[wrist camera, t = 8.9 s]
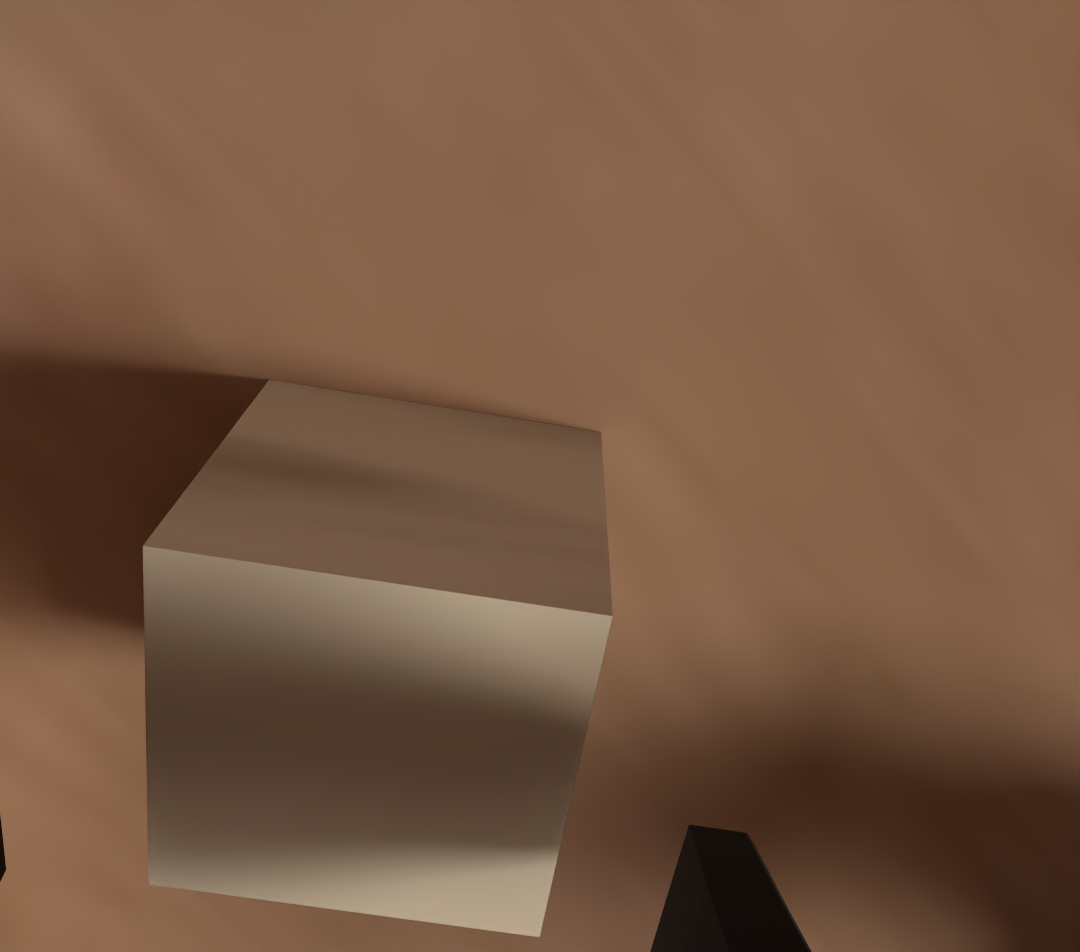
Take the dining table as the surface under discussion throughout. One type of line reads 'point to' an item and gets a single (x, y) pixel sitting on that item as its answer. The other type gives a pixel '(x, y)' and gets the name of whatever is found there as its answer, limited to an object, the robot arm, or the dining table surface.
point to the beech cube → (375, 658)
